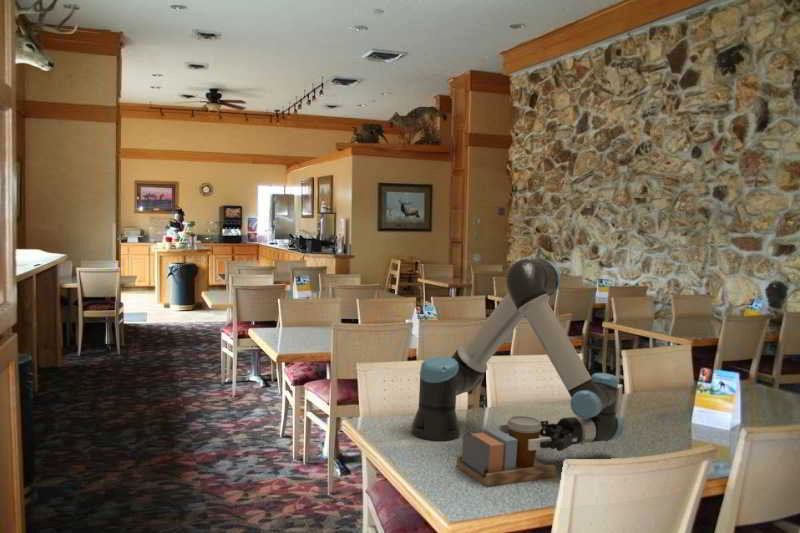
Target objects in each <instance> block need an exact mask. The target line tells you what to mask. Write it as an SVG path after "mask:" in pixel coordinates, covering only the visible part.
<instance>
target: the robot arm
mask: <svg viewBox="0 0 800 533" xmlns="http://www.w3.org/2000/svg"><path fill="white" fill-rule="evenodd" d="M561 280H562V279H561V273H560V270H559V268H558V267H557V266H556V264H555V263H553V262H552V261H550V260H548V259H544V258H533V259H531V258H529V259H528V258H527V259H526V258H525V259H519V260H518V261H515V262H514V263H513V264H511V266H510V267H509V269H508V270H507V272H506V275H505V285H506V289H507V293H506V294H505V296H504V297H503V298H502V300H501V301H500V302H499V303H498V305H497V306H496V307H495V308H494V310H493V311H492V312H491V313H490V315H489V316H488V317H487V319H486V320H485V322H483V324H481V326H480V327H479V329H478V330H477V331H476V333H475V334H474V335H473V337H471V339H470V340H469V341H468V343H466V345H465V346H463V345H461V346H459V347H458V348H457V349H456V351H455V352H454V353H453V354H452V356H451V357H449V356H433V357H428V358H426V359H424V360H423V361H422V363H421V366H420V371H419V394H418V408H417V410H416V414H415V415H414V418H413V420H412V423H411V434H413V435H414V436H415V437H417V438H421V439H423V440H430V441H440V442H442V441H452V440H456V439H457V438H459V437H460V433H461V431H460V430H461V428H460V424H459V420H458V416H457V412H456V411H457V410H456V408H457V404H456V403H457V396H459V395H461V394H464V393H469V392H471V391H473V390H475V389H476V388H478V387H479V386H480V384H481V383H483V379H484V377H485V373H486V372H487V370H488V364H487V363H488V362H489V361H490V359H491V358H492V357H493V355H494V354H495V353H496V352H497V351H498V350H499V348H500V347H501V346H502V344H504V342H505V341H506V340H507V338H508V337H509V336H510V334H511V333H512V332H513V331H514V330H515V329H516V327H517V326H518V324H520V322H521V321H522V320H523V318H524V317H526V319H527V323H529V325H530V327H531V329H532V331H533V332H534V334H535V336H536V337H537V339H538V341H539V343H540V345H541V346H542V348H543V350H544V352H545V353H546V355H547V357H548V359H549V360H550V363H551V364H552V366H553V367H554V369H555V372H556V373H557V374H558V377H559V379H560V380H561V382H562V384H563V385H564V388H565V389H566V390H567V392H568V394H569V396H570V398H571V399H570V408H571V410H572V412H573V414H575V416H573V417H572V416H571V417H563V418H560V419H559V421H557V423H554V422H553V423H549V421H548V420H539V421H540V422H541V426H542V429H541V431H540V434H539V436H541V438H540V437H539V439H530V440H528V450H529V451H531V450H536V451H537V450H545V449H551V450H555V449H556V451H557V452H562V451H563V450H565V449H567V448H568V447H570V446H573V445H579V444H580V445H582V446H583V445H584V444H590V443H595V442H596V443H597V442H609V441H612V440H616V439H619V438H620V437H621V436H622V435H623V432H624V424H623V420H622V418H621V416H620V417H619V416H618V415H617V414H616V404H617V392H618V384H619V379H618V377H617V376H616V375H614V374H612V373H611V374H610V373H605V372H595V373H593V374H592V375H590V373H589V371H588V370H587V368H586V365H585V364H584V362H583V361H582V359H581V356H580V355H579V354H578V352H577V350H576V348H575V347H574V344H573V343H572V342H571V340H570V338H569V337H568V335H567V332H566V331H565V328H564V327H563V326H562V324H561V322H560V320H559V319H558V317H557V315H556V314H555V312H554V310H553V308H552V307H551V305H550V303H549V302H548V297H550V296H553V294H554V293H555V292H557V290H559V287H560V285H561ZM498 430H500V431H502V432H504V433H506V434H508V435H509V431H508V426H507V423H501V424H498Z"/></svg>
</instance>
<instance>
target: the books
mask: <svg viewBox="0 0 800 533" xmlns="http://www.w3.org/2000/svg"><path fill="white" fill-rule="evenodd" d="M471 434H472V435H474V436H475V437H477V438H479V439H481V440H482V441H484V442H486V443H488V444H489V445H490V451H489V466H488V473H493V472H500V471H508V470H515V469H516V456H517V441H518V440H517V439H515V438H513V437H511V436H509V434H506V433H504V432H502V431H500V430H499V428H497V427H485V428H483V429H482V432H476V433H471Z"/></svg>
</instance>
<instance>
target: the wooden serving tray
mask: <svg viewBox="0 0 800 533" xmlns="http://www.w3.org/2000/svg"><path fill="white" fill-rule="evenodd" d="M460 462H462V453H461V454H457V455H456V466H457V468H459V469H460V470H463V471H464V472H465V473H466V474H468V475H470V476H471V477H473V478H474V479H475V480H477V481H479V482H480V483H481V484H482V485H484V486H485V487H494V486H501V485H503V486H504V485H509V484H516V483H522V482H529V481H530V482H531V481H536V480H544V479H549V478H550V479H551V478H556V471H557V466H556V465H555V464H546V465H545V464H543V463H541V462H539V461H537V460H536V459H534V464H533V466H532V467H528V468H524V467H517V466H516V469H515V470H508V471H500V472H493V473H486V477H485V478H482V477H480V476H479V475H477V474H476V473H474V472H473V471H471V470H470V469H468V468H467V467H465V466H464V465H462V464H461V463H460Z"/></svg>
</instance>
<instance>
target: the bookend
mask: <svg viewBox="0 0 800 533" xmlns="http://www.w3.org/2000/svg"><path fill="white" fill-rule="evenodd" d="M462 433H463V435H462V436H463V437H462V448H461V450H462V452H461V454H462V462H460V463H461V464H462V465H464V466H465V467H467V468H468V469H470V470H471V471H473V472H474V473H476V474H477V475H479V476H480V477H482V478H485V477H486V473H488V466H489V451H490V445H489V444H488V443H486V442H484V441H482V440H481V439H479V438H477V437H475V436H474V435H472V434H473V433H470V432H469V431H463V432H462Z"/></svg>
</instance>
